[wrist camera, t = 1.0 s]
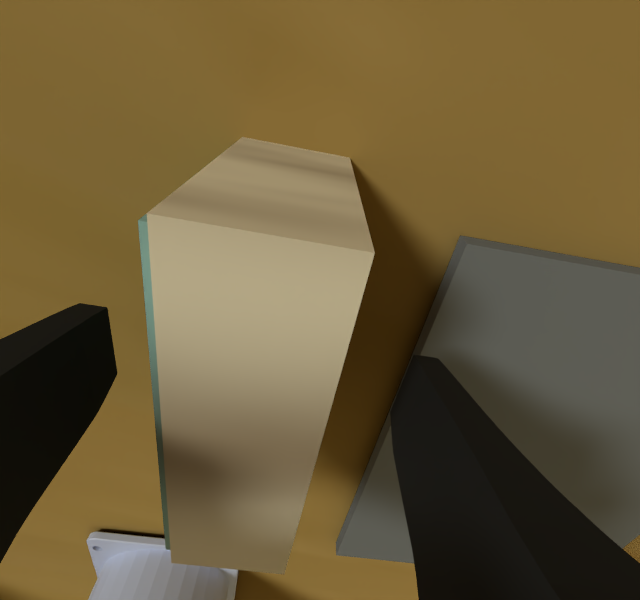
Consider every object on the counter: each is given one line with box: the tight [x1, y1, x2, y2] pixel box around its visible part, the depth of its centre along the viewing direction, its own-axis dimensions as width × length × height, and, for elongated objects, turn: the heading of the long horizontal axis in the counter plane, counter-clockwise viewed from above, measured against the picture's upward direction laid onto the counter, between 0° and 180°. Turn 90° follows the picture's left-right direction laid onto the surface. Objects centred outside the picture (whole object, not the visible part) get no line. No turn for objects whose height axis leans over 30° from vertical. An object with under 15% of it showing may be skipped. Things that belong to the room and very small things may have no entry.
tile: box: [138, 137, 375, 574], centre depth 9 cm, size 9×3×6 cm, turn 170°
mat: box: [336, 236, 640, 563], centre depth 16 cm, size 18×14×1 cm
